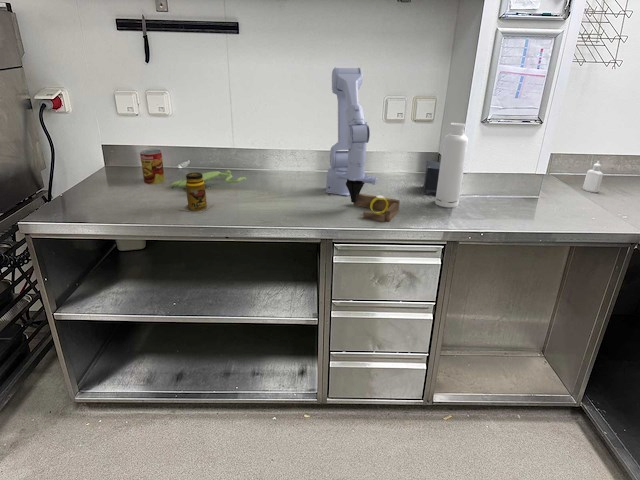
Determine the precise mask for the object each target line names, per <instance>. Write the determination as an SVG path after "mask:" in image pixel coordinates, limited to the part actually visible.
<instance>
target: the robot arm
mask: <svg viewBox="0 0 640 480" xmlns="http://www.w3.org/2000/svg"><path fill="white" fill-rule="evenodd" d="M363 77H364V76H363V70H362V69H361V67H356V68H355V67H336V66H335V67H334V68H332V72H331V90H332V94H333V95H334V94H335V95H336V99H337V141H336V143H334V144H333V145H332V146H331V148H330V150H329V151H330V153H329V166H330V167H329V168H328V170H327V172H326V181H325V182H326V187H325V193H327V194H333V195H334V194H335V195H339V196H345V197H346V196H347V197H350V201H351V203H352V204H353V203H356V202H357V200H358V196H359V194H361V190H362V188H363V187H364V185H365V184H370V185H373V186H375V185H377V184H378V179H379V178H378V177H376V176H370V175H367V174H365V170H366V169H365V168H366V158H367V156H366V155H367V144H368V143H369V141H370V136H371V134H370V130H371V129H370V126H369V124H368V122H367V121H366V119H365V113H364V108H363V106H362V105H361V104H360V102H359V90H360V88H361V86H362V84H363V79H364V78H363Z"/></svg>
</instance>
